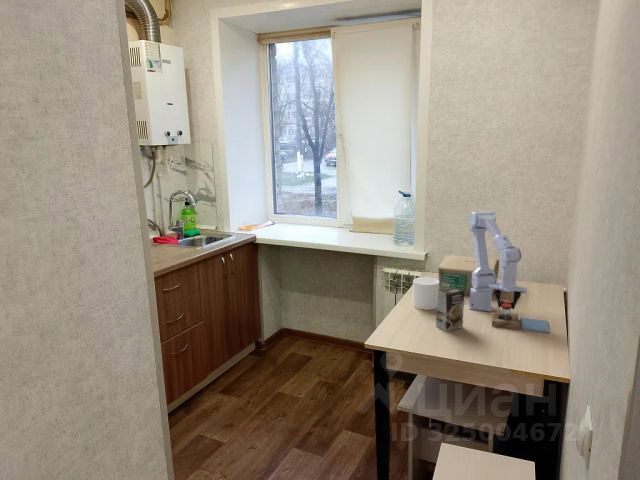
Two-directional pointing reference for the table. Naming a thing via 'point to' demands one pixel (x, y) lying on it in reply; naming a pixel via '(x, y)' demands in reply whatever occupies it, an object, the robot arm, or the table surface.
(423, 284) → the cup
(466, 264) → the paper package
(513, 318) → the eye block
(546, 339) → the table surface
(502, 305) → the red mushroom head
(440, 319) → the coffee box
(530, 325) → the mat
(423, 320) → the table surface
